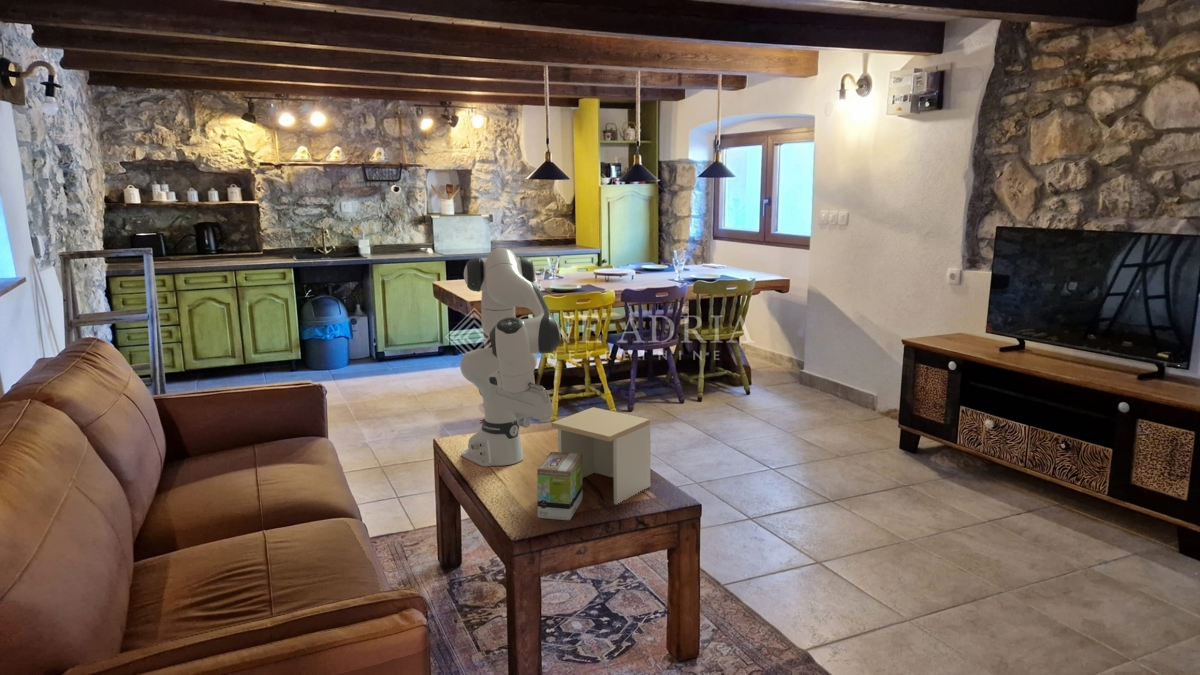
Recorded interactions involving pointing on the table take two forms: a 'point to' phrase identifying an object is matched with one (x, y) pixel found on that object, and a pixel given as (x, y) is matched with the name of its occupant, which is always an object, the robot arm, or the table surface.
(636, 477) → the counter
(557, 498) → the tea box
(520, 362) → the robot arm
